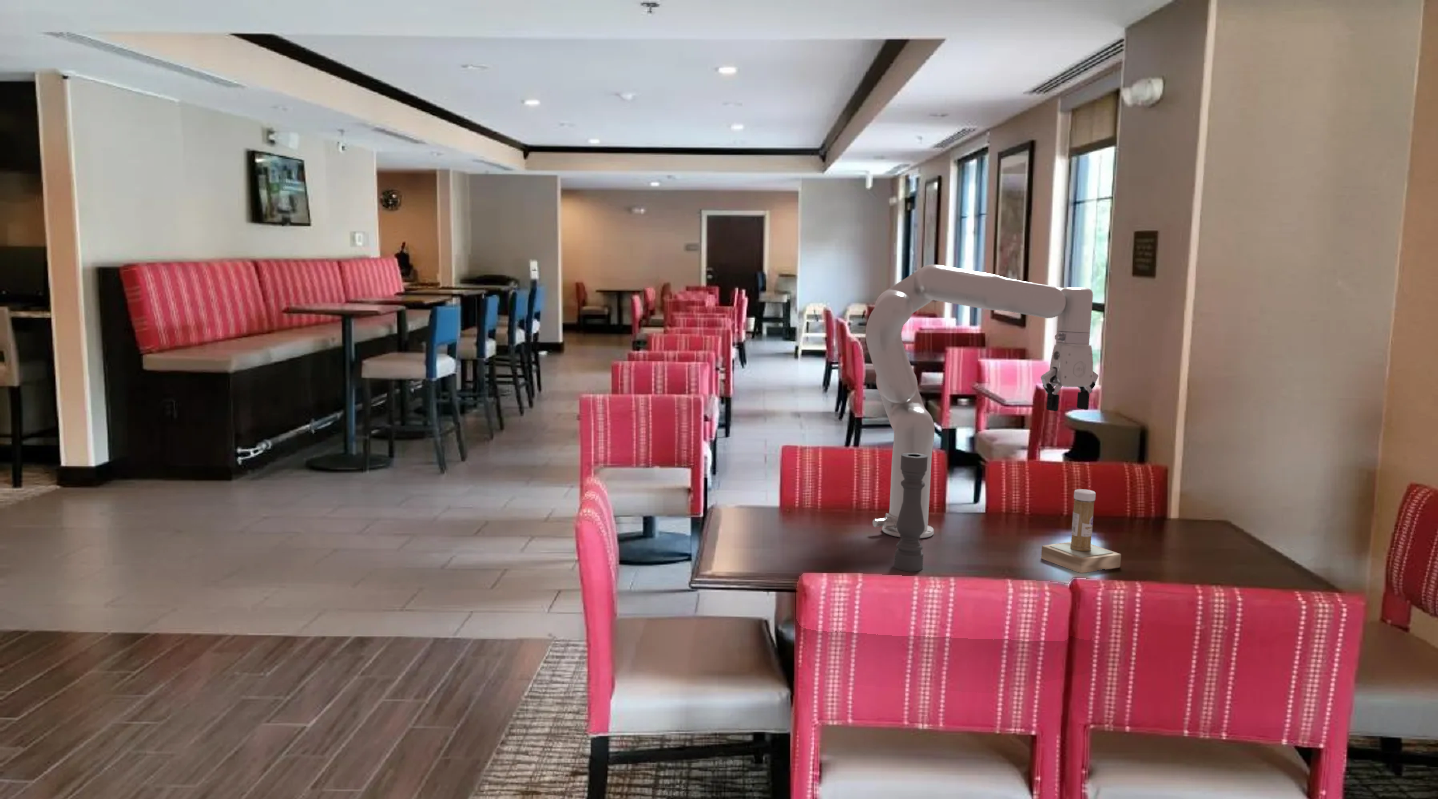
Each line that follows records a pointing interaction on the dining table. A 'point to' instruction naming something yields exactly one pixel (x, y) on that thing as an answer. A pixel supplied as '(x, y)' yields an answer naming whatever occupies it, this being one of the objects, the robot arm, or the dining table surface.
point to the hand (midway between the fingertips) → (1067, 409)
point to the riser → (1080, 557)
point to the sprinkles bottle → (1082, 519)
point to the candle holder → (911, 513)
